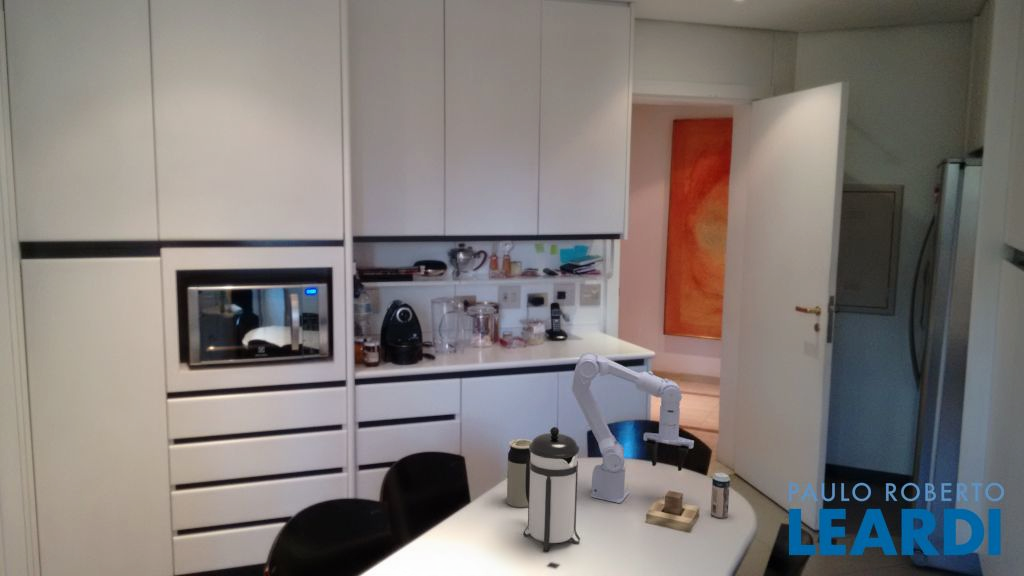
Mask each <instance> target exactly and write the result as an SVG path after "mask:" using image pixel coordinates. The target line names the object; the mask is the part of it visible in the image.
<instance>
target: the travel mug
mask: <svg viewBox="0 0 1024 576" xmlns="http://www.w3.org/2000/svg"><path fill="white" fill-rule="evenodd" d="M532 441H533V440H530V439H525V438H521V439H520V438H518V439H513V440H510V441H509V442H508V445H509V448H510V449H509V451H508V453H507V477H506V478H507V480H506V481H507V482H506V483H507V484H506V503H507V504H508V505H510V506H512V507H514V508H521V509H522V508H528V501H527V497H526V489H525V485H526V461H527V456H528V454H529V452H530V450H529V445H530V444H531V443H532Z"/></svg>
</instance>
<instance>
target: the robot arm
mask: <svg viewBox="0 0 1024 576" xmlns="http://www.w3.org/2000/svg"><path fill="white" fill-rule="evenodd" d="M573 372H574V373H573V374H574V375H573V378H572V380H573V381H572V388H571V390H572V393H573V395H574V397H575V400H576V401H577V403H578V405H579V408H580V409H581V411H582V413H583V416H584V417H585V419H586V421H587V423H588V426H589V427H590V431H592V434H593V436H594V437H595V440H596V442H597V443H598V447H599V451H600V453H601V457H602V463H601V464H596V465H594V467H593V470H592V474H591V475H592V476H591V494H590V498H595V499H599V500H604V501H608V502H614V503H618V504H621V503H622V502H623V501H624V500H625V499H626V498H627V497H628V496H629V492H628V491H625V481H626V477H625V476H626V466H625V458H624V457H625V449H624V447H623V445H622V444H620V443H619V442H618V441H617V439H616V438H615V436H614V435H613V434H612V432H611V431H610V430H611V429H610V428H609V426H608V424H607V422H606V419H605V418H604V415H603V413H602V412H601V410H600V408H599V406H598V404H597V402H596V400H595V398H594V396H593V393H592V392H591V390H590V386H591V383H592V382H593V380H594V379H595V378H596V377H597V375H598V374H599V377H604V376H607V375H611V376H613V377H617V378H620V379H622V380H625V381H627V382H630V383H632V384H634V385H635V387H636V389H637V390H638V391H640V392H643V393H646V394H648V395H649V396H653V397H654V398H658V399H659V398H660V399H661V400H660V406H659V424H658V433H653V432H644V433H643V438H642V439H643V441H646V443H645V446H646V449H647V451H648V453H649V456H650V458H651V459H650V460H651V466H652V467H655V466H656V465H657V462H658V461H657V460H658V456H657V455H658V446H659V443H661V444H666V445H673V446H679V448H678V450H677V451H678V452H677V453H678V463H677V471H678V472H681V471H682V469H683V464H684V462H685V459H686V457H687V454H688V452H689V451H690V449H693V448H694V445H695V440H692V439H689V438H685V437H681V436H679V433H680V432H679V431H680V416H681V415H680V413H681V408H680V405H681V401H682V398H683V395H682V391H681V388H680V386H679V385H678V384H677V383H676V382H675V381H673V380H672V379H669V378H661V377H659V376H657V375H654V372H652V371H650V370H649V371H648V372H647V371H642V372H636V371H634V370H632V369H630V368H628V367H625V366H624V365H622V364H620V363H618V362H615V361H614V360H611V359H609V358H606V357H604V356H601V355H596V354H595V353H593V352H586V353H583V354H582V355H581V356H580V357H579V359H578V361H577V363H576V365H575V369H574V371H573Z"/></svg>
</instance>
